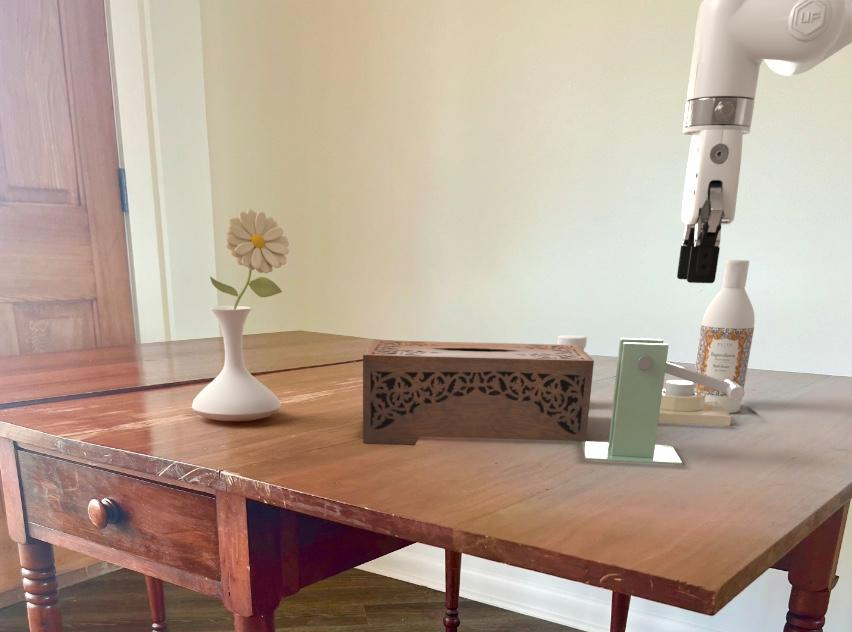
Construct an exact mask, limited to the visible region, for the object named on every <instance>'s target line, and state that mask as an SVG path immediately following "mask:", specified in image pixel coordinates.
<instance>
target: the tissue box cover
mask: <svg viewBox="0 0 852 632" xmlns="http://www.w3.org/2000/svg"><path fill="white" fill-rule="evenodd" d="M585 352H586V351H585V350H584V351H583V350H582V349H581V348H580V347H579V346H578V345H557V343H556V344H555V343H554V344H553V343H513V342H512V343H510V342H509V343H508V342H473V341H472V342H471V341H469V342H467V341H435V340H433V341H431V340H430V341H429V340H428V341H427V340H390V339H389V340H388V339H374V340H373V341H372V343H370V345H369V346H368V348H367V349H366V351H364V353H363V354H362V443H363V444H383V445H385V444H386V445H411V446H412V445H415V446H416V444H417V442H418V441H419V439H420V438H421V437H423V438H425V437H427V438H455V439H456V438H457V439H488V440H489V439H492V440H522V441H523V440H526V441H555V442H556V441H557V442H561V441H562V442H582V441H587V435H588V433H587V432H588V424H589V412H590V405H591V404H590V403H591V393H592V384H593V374H594V365H595V360H594V359H593V358H592V357H591V356H590V355H589V354H588V353H587V352H586V353H587V354H588V355H589V356H588V355H587V354H586V353H585Z"/></svg>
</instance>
